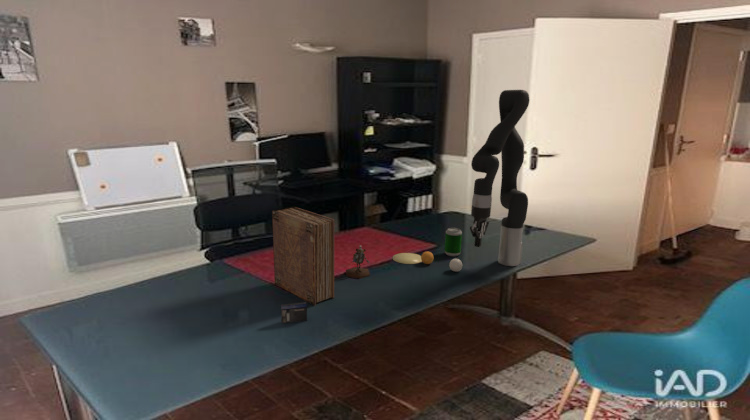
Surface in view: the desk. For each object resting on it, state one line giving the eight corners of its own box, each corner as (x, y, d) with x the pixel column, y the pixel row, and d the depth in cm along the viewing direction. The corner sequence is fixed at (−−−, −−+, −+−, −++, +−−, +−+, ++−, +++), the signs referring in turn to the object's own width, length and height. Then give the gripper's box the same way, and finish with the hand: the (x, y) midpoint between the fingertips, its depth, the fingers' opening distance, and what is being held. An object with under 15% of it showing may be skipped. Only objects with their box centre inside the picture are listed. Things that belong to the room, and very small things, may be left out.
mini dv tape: (281, 323, 159) (281, 306, 157) (281, 321, 160) (280, 304, 159) (307, 320, 161) (306, 304, 160) (306, 318, 162) (306, 302, 161)
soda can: (461, 257, 224) (463, 232, 221) (445, 256, 224) (446, 231, 221) (459, 251, 231) (461, 227, 228) (443, 251, 231) (444, 227, 228)
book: (334, 298, 178) (334, 219, 170) (314, 306, 172) (313, 224, 164) (294, 278, 195) (292, 205, 188) (274, 284, 189) (272, 209, 182)
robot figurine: (353, 280, 195) (353, 252, 192) (339, 273, 202) (340, 246, 199) (374, 274, 202) (375, 246, 199) (361, 267, 208) (361, 241, 205)
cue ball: (456, 268, 210) (457, 256, 209) (464, 272, 206) (465, 260, 204) (446, 270, 208) (447, 257, 207) (454, 274, 203) (455, 262, 202)
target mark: (412, 251, 230) (412, 251, 230) (429, 261, 218) (429, 260, 218) (386, 255, 223) (386, 255, 223) (402, 265, 211) (402, 265, 211)
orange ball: (428, 260, 219) (429, 249, 217) (435, 264, 214) (436, 252, 212) (418, 262, 216) (418, 250, 215) (425, 266, 211) (425, 254, 210)
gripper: (483, 209, 187) (479, 252, 191) (497, 203, 197) (493, 244, 201) (465, 206, 191) (461, 248, 195) (480, 200, 201) (476, 240, 205)
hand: (477, 246), depth 198 cm, fingers closed
